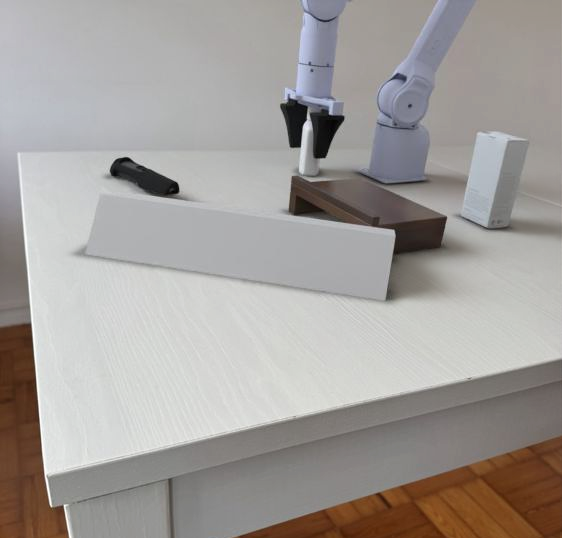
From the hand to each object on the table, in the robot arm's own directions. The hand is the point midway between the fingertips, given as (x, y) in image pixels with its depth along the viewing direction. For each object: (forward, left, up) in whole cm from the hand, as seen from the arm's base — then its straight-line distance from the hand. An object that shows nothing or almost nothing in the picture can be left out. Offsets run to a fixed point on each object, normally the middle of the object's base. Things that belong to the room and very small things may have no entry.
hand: (307, 152), depth 101 cm
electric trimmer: (+29, +2, -4) cm, 30 cm away
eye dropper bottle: (-1, 0, -4) cm, 4 cm away
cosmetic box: (-12, +30, -4) cm, 32 cm away
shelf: (+8, +27, -3) cm, 28 cm away
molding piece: (+27, +29, -4) cm, 40 cm away
